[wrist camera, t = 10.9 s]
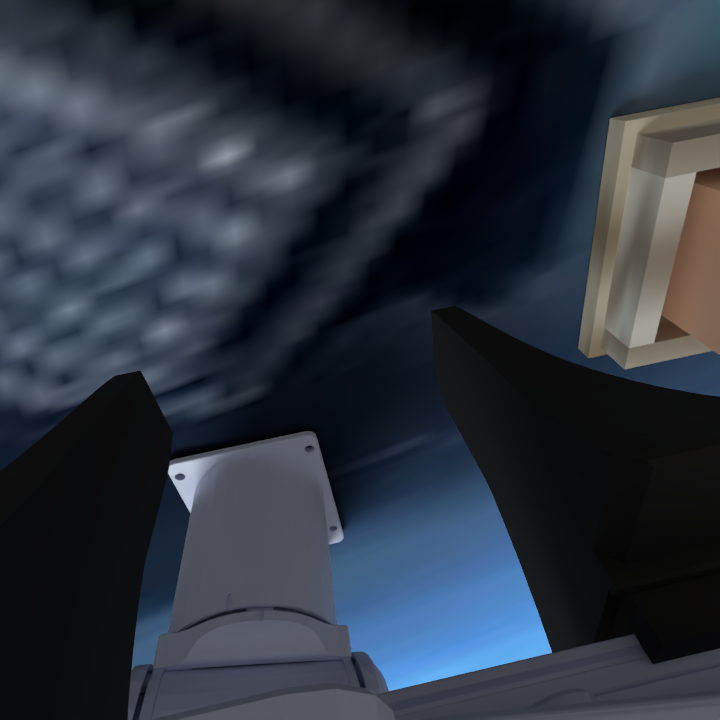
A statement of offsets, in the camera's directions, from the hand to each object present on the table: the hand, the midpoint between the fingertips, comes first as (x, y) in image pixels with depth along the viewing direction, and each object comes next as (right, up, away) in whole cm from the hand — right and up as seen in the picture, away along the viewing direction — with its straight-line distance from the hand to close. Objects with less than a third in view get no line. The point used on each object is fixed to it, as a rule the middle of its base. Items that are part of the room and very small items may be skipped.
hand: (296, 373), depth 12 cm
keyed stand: (+17, +6, +10) cm, 21 cm away
